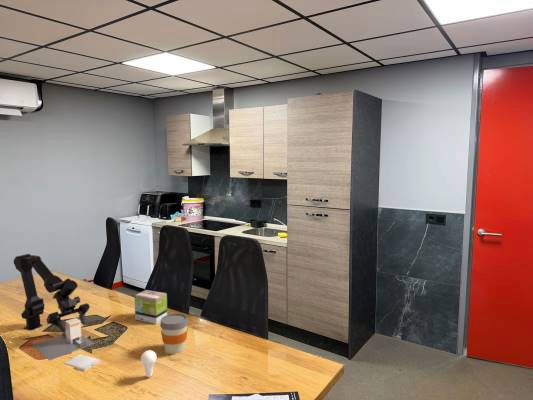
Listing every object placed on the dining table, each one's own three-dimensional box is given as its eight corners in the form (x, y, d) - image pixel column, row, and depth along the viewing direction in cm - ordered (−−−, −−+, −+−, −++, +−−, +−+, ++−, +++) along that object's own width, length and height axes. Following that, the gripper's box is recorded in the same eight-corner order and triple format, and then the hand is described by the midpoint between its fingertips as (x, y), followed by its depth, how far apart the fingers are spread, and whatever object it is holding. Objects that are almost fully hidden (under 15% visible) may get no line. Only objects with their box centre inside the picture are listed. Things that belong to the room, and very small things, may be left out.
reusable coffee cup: (193, 345, 177) (192, 315, 176) (179, 358, 165) (178, 326, 164) (171, 341, 181) (170, 311, 180) (155, 353, 169) (154, 322, 168)
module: (66, 340, 180) (65, 321, 179) (76, 337, 184) (76, 317, 183) (71, 344, 177) (70, 324, 176) (81, 340, 181) (80, 320, 180)
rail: (62, 335, 186) (62, 332, 186) (68, 333, 188) (68, 330, 188) (80, 347, 173) (79, 344, 173) (86, 345, 176) (86, 341, 175)
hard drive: (63, 362, 160) (84, 368, 155) (80, 353, 167) (100, 359, 162) (64, 366, 160) (84, 372, 155) (80, 357, 167) (100, 362, 162)
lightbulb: (143, 373, 153) (142, 347, 152) (158, 372, 154) (157, 347, 153) (139, 381, 147) (138, 355, 146) (155, 380, 148) (154, 354, 147)
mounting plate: (31, 346, 176) (31, 344, 176) (74, 331, 192) (74, 330, 192) (49, 361, 162) (49, 360, 162) (94, 344, 178) (94, 343, 178)
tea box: (134, 320, 206) (133, 294, 204) (146, 313, 215) (145, 289, 213) (156, 324, 200) (155, 298, 198) (168, 317, 209) (167, 292, 208)
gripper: (47, 297, 174) (58, 326, 168) (87, 287, 188) (98, 314, 182) (42, 309, 180) (52, 338, 174) (81, 299, 194) (91, 324, 188)
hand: (74, 328), depth 179 cm, fingers open, 9 cm apart
